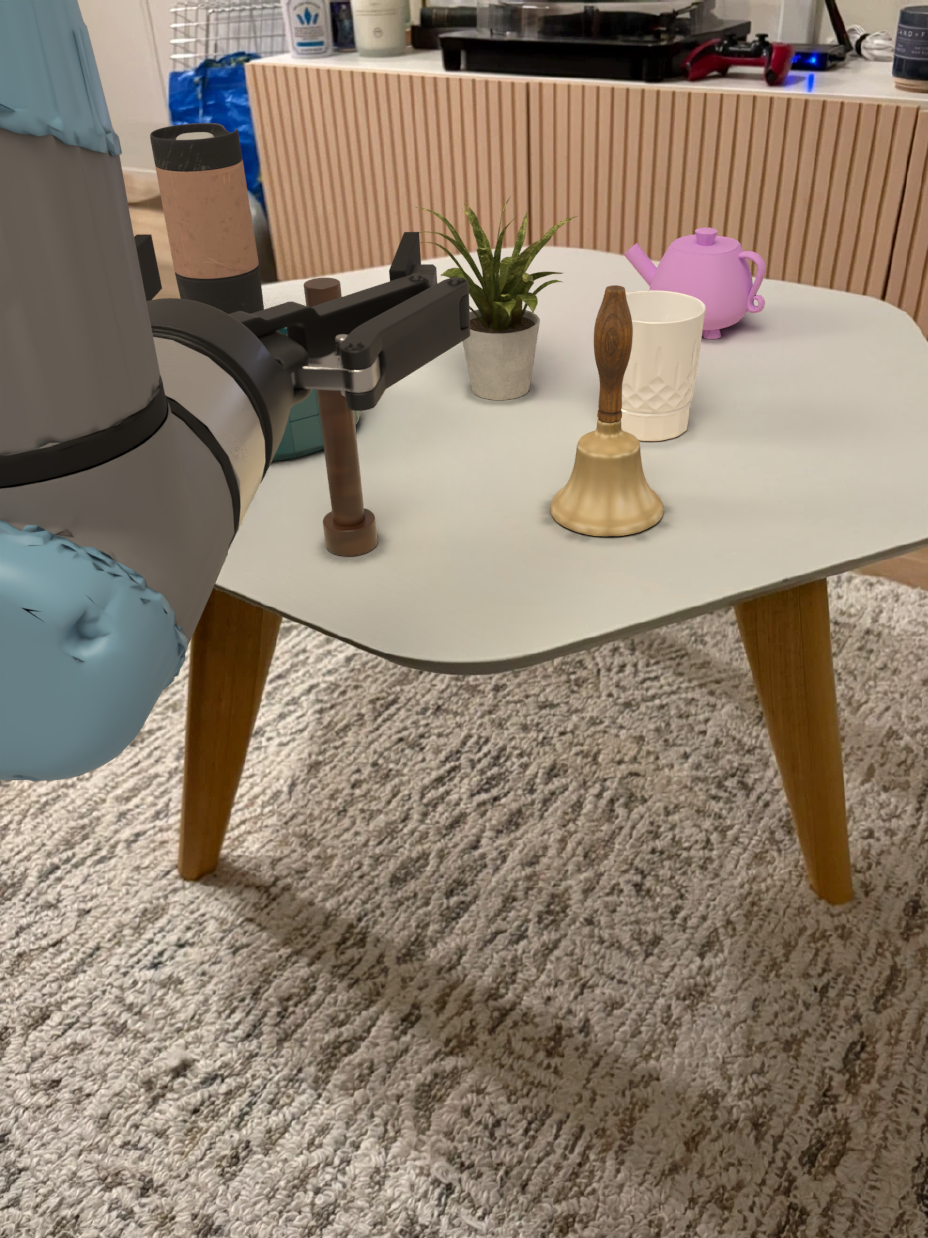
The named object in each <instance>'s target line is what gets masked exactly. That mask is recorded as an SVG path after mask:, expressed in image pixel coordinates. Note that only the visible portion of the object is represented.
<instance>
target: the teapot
mask: <svg viewBox="0 0 928 1238" xmlns="http://www.w3.org/2000/svg"><path fill="white" fill-rule="evenodd" d="M694 233H695V234H688V235H684V236H680V237H678V238H676V239H675V240H673V241H672V242H671V243H670V245H669V246H668V248H667V249H666V251H665V252H664V254H663V255H662V257H661V259H660V261H659V262H658V264H657V266H656V265H655V263H653V261H652V260H651V259H650V257H649V256H648V255H647V254H646V252H645V251H644V250H643V248H642V247H641V246H640V245H639V243H638V242H636V243H635V244H634V245H632V246H631V247H629V249H628V250H626V252H624V253H623V256H624V257H625V258H626V260H627V261H628V262H629V263H630V264H631V266H632V267H633V268H634V269H635V271H636V272H637V273H638V274H639V275H640V277H641V278H642V279H643V280H644V282H645V283H646V284H647V285H648V286H649V290H657V291H670V292H677V293H682V294H686V295H690V296H692V297H695V298H697V299H699V300H700V301H702V302H703V303H704V305H705V307H706V310H705V317H704V324H703V331H702V338H704V339H709V340H717V339H720V338H721V337H722V335H721V329H726V328H728V327H732V326H733V325H736V324H737V323H739V322H740V321H741V320H742V319H743V318H744V317H745V316H746V314H747V313H748V312H749V313H751V314H757V313H760V312H762V311H763V310H764V309H765V306H766V299H765V298H764V296H762V295H761V294H757V293H758V292H759V289H760V288H761V285H762V282H763V281H764V278H765V275H766V269H767V267H766V262H765V259H764V258H763V257H762V255H760V254H759V253H757V252H755V251H752V250H744V249H743V247H742V245H741V242H740V241H739V240H737V239H736V238H732V237H728V236H722V235H718V230H717V229H716V228H713V227H699V228H696V229H695V230H694ZM748 260H750V261H752V262H754V264H755V265H756V276H755V279H754V281H753V275H752V270H751V268H750V264H749V261H748ZM755 301H757V305H755Z"/></svg>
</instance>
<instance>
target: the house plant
mask: <svg viewBox="0 0 928 1238" xmlns="http://www.w3.org/2000/svg"><path fill="white" fill-rule="evenodd" d="M512 196H513V194H511V196H509V197H508V199H507V201H506V202H505V204H504V206H503V209H502V212H501V215H500V219H499V225H498V231H497V237H496V244H495V247H494V251H493V250H492V247H491V243H490V241H489V239H488V236H487V234H486V233H485V231H484V230H483V228H482V227H481V225H480V221H479V218H478V216H477V214H476V212H475V211H474V210H473V209H472V208H471V207H470V206H469V205H468V204H466V203H464V206H465V208H466V209H467V210H466V209H464V207H461V209H462V211H463V213H464V214H465V215H466V216H467V221H468V222H469V224H470V225H471V228H472V233H473V236H474V238H475V242H476V245H477V248H476V254H477V258H478V261H479V264H480V269H481V271H480V269H479V268H478V266H477V264H476V262H475V260H474V258H473V257H472V255H471V253H470V252H469V250H468V248H467V247H466V245H465V243H464V242H463V240H462V238H461V236H460V235H459V233H458V231H457V230H456V228H455V227H454V226H453V224H452V223H451V222H450V221H449V220H448V219H447V218H446V217H445V216H443V215H441V214H440V213H439V212H436V211H433V210H430V209H428V208H424V207H418V206H415V208H417V209H420V210H424V211H426V212H429V213H431V214H433V215H435V216H436V217H437V218H438V219H440V220H441V221H442V222H443V223H444V225H446V227H447V228H448V230H449V231H450V233H451V234H452V236H453V238H452V237H450V236H449V235H447V234H444V233H441V232H437V231H426V230H425V231H418V232H419V234H420V233H422V234H423V233H427V234H436V235H439V236H441V237H443V238H444V239H446V240H447V241H449V242H450V243H451V244H452V245H453V246H454V247H455V248H456V249H457V251H458V252H459V253H460V254H461V255H462V256H463V258H464V259H465V261H466V262H467V264H468V265H469V267H470V269H471V270H472V272H473V274H474V275H475V276H476V278H477V281H478V283H479V284H480V285H478V284H477V283H475V282H474V280H473V279H472V278H471V276H470V275H469V274H468V273H467V272H466V271H465V270H464V268H463V267H462V265H461V264H460V262H459V261H458V260H457V258H456V257H455V256H454V255H453V253H451V251H450V250H448V249H447V248H446V247H444V246H443V245H442V244H439V243H436V242H433V241H422V242H421V241H420V244H433V245H435V246H438V247H439V248H440V249H441V250H443V251H444V252H445V253H446V254H447V255H448V256H449V257H450V258H451V260H452V261H453V262H454V263H455V264H456V266H457V267H450V268H448V269H446V270H445V271H443V273H441V274H440V277H441V278H442V277H446V278H448V279H449V278H451V277H459V278H465V279H466V280H468V284H469V297H471V299H472V301H473V303H474V304H475V306H476V308H477V309H474V308H472V306H471V305H469V307H470V337H468V338H467V339H465V340H464V341H462V342H461V343H462V347H463V351H464V356H465V361H466V366H467V371H468V375H469V380H470V385H471V390H472V393H473V394H474V395H475V396H477V397H479V398H481V399H486V400H491V401H507V400H508V401H509V400H513V399H519V398H520V397H523V396H525V395H527V394H528V393H529V391H530V387H531V381H532V376H533V375H532V374H533V368H534V362H535V356H536V350H537V343H538V336H539V329H540V323H541V319H540V317H539V316H538V314H536V313H535V310H536V308H537V305H539V304H538V300H539V299H538V293H539V292H541V291H542V290H543V289H545V288H546V287H548V286H550V285H553V284H557V283H563V281H562V280H558V279H551V280H547V281H545V282H543V283H542V284H541V285H539V286H538V287H536V289H535V290H534V291H533V292H530V291H531V289H532V287H533V285H534V284H535V281H536V280H538V279H541V278H545V277H548V276H552V275H563V272H561V271H537V272H533V273H527V271H528V269H529V267H530V265H531V264H532V262H533V261H534V259H535V258H536V256H537V255H538V254H539V253H540V252H541V250H543V248H544V247H545V246H546V244H548V243H549V241H550V240H551V239H552V238H553V236H554V235H555V233H557V231H558V230H559V229H560V228H562V226H564V225H565V224H567V223H568V222H570V221H572V220H573V219H575V218H577V217H578V215H577V216H576V215H575V216H571V217H568V218H565V219H563V220H561V221H559V222H558V223H556V224H554V226H552V227H551V228H549V230H548V231H547V232H545V234H543V236H542V237H541V238H540V239H539V240H536V241H534V242H533V243H531V244H530V245H529V246H527V247H526V248H525V249H523V251H522V248H523V246H524V242H525V239H526V233H527V226H528V212H527V211H526V212H525V215H524V216H523V219H522V222H521V226H520V227H519V230H518V232H517V235H516V240H515V243H514V247H513V249H512V250H513V251H512V253H511V256H505V257H504V258H502V249H503V248H502V247H503V242H504V238H505V234H506V232H507V231H506V230H507V229H508V227H509V226H510V225H511V223H512V222H514V220H515V219H517V217H518V216H519V215H520V213H521V212H520V213H519V214H517V215H516V216H515V217H514V218H513V219H512V220H511V221H509V222H508V223H507V224H506V226H504V228H503V229H502V231H501V226H502V225H501V224H502V219H503V214H504V212H505V209H506V207H507V204H508V202H510V201H509V200H510V199H511V197H512ZM500 231H501V232H500ZM521 251H522V252H521ZM501 258H502V259H501ZM481 273H482V274H481ZM523 302H524V305H523ZM527 308H529V309H530V310H527Z"/></svg>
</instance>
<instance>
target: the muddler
mask: <svg viewBox="0 0 928 1238" xmlns="http://www.w3.org/2000/svg"><path fill="white" fill-rule="evenodd" d="M341 285H342V284H341V281H340V280H339V279H337V278H335V277H316V278H311V279H308V280H306V281H305V282H304V283H303V293H304V300H305V306H308V307H313V306H316V305H319V304H322V303H325V302H328V301H331V300H334V299H337V298H340V297H343V296H342V286H341ZM317 396H318V404H319V412H320V420H321V428H322V436H323V444H324V449H323V452H324V459H325V467H326V475H327V483H328V491H329V500H330V507H331V511H329V512H328V513H326V514H325V516H324V517H323V519H322V527H323V534H324V542H325V547H326V549H327V550H328V551H329V552H330V554H331V553H332V554H333V555H336V556H341V557H356V556H362V555H365V554H367V553H369V552H371V551H372V550H374V549H375V548H376V546H377V545H378V533H377V524H376V523H377V521H376V515H375V514H374V513H373V511H371V509H368V508H365V505H364V497H363V495H364V494H363V485H362V477H361V467H360V466H361V465H360V457H359V456H360V455H359V448H358V438H357V437H358V436H357V429H356V425H355V418H354V410H351V409H348V408H347V407H346V398H345V396H343V395H341V391H338V390H317Z"/></svg>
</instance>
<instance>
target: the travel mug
mask: <svg viewBox="0 0 928 1238" xmlns="http://www.w3.org/2000/svg"><path fill="white" fill-rule="evenodd" d="M149 139H150V145H151V151H152V157H153V162H154V167H155V173H156V178H157V183H158V189H159V195H160V199H161V206H162V211H163V217H164V220H165V221H164V223H165V227H166V233H167V237H168V244H169V248H170V250H169V251H170V255H171V259H172V266H173V270H174V271H173V272H174V276H175V280H176V284H177V289H178V295H179V297H180V298H179V299H188V300H193V301H197V302H201V303H204V304H207V305H210V306H213V307H215V308H217V309H219V310H222V311H223V312H225V313H227V314H231V313H234V312H237V311H243V312H246V313H249V314H252V313H255V312H258V311H261V310H264V309H265V305H264V297H263V289H262V279H261V271H260V265H259V257H258V251H257V250H258V248H257V243H256V242H257V241H256V237H255V231H254V224H253V217H252V212H251V205H250V198H249V192H248V187H247V180H246V173H245V165H244V160H243V154H242V148H241V147H242V146H241V141H240V134H239V130H238V128H236V129H235V130H234V131H232V132H231V131H228V130H227V129H226V128H225V126H224V125H222V124H220V123H217V122H196V123H182V124H176V125H169V126H164V127H160V128H156V129H155V130H153V131H152V132H150V134H149Z"/></svg>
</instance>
